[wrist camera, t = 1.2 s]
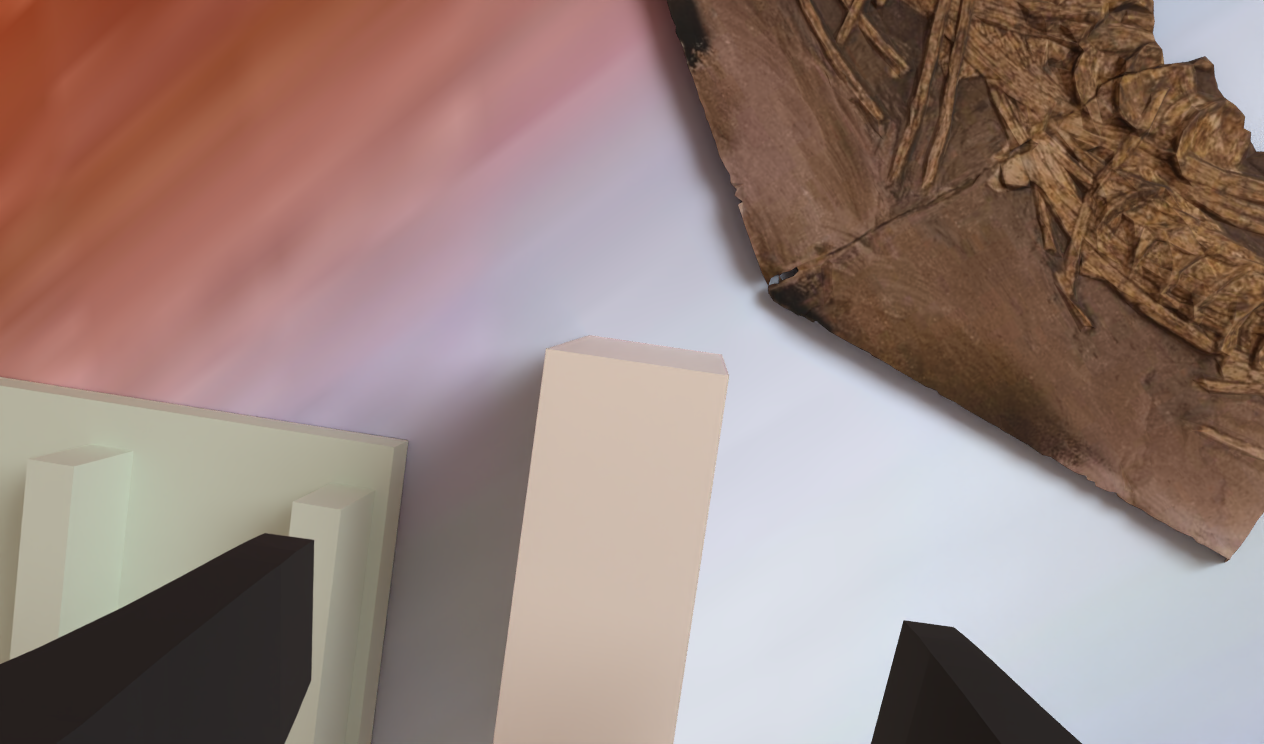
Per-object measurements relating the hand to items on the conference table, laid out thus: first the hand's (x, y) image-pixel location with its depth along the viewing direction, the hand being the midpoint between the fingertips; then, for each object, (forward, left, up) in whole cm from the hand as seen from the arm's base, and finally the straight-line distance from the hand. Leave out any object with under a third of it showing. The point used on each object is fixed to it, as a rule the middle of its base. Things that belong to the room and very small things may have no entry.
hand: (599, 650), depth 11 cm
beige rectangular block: (-2, 0, -10) cm, 10 cm away
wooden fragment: (+10, -4, -11) cm, 15 cm away
